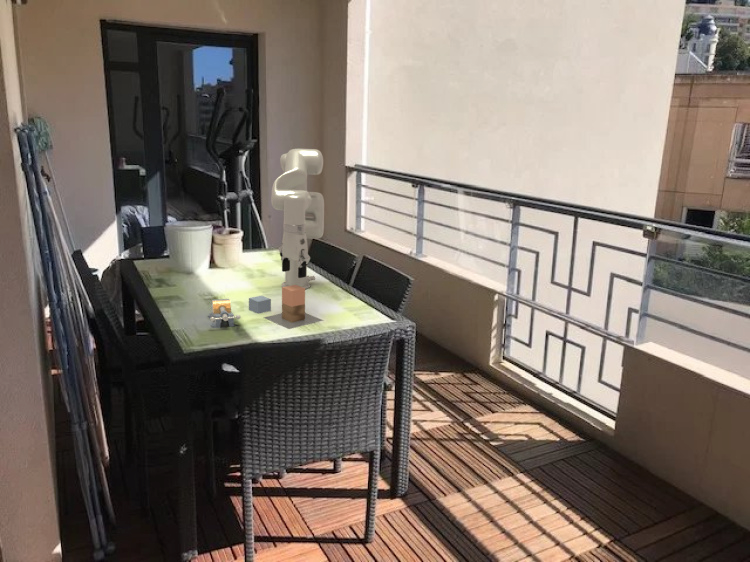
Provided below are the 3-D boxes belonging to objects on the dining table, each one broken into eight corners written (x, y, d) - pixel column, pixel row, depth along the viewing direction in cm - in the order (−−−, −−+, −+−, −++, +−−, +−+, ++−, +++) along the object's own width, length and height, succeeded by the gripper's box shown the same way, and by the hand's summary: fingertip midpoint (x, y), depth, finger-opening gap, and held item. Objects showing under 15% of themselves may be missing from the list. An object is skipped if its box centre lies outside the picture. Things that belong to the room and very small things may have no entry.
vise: (206, 315, 235) (206, 298, 233) (234, 313, 238) (234, 297, 236) (210, 331, 218) (210, 313, 217) (240, 329, 222) (240, 311, 220)
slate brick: (261, 310, 244) (261, 295, 242) (270, 313, 240) (270, 299, 238) (248, 312, 240) (248, 298, 238) (257, 316, 236) (257, 301, 234)
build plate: (297, 312, 242) (297, 309, 242) (323, 323, 231) (323, 320, 231) (263, 320, 231) (263, 317, 231) (288, 332, 221) (288, 329, 220)
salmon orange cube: (295, 300, 234) (295, 284, 232) (304, 304, 230) (305, 288, 228) (282, 302, 230) (282, 287, 228) (291, 306, 225) (291, 291, 224)
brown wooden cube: (294, 315, 235) (295, 300, 234) (304, 319, 231) (305, 304, 230) (282, 318, 231) (282, 302, 230) (291, 322, 227) (291, 306, 225)
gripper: (317, 231, 219) (316, 278, 224) (288, 222, 231) (288, 267, 236) (300, 234, 214) (300, 281, 219) (271, 225, 226) (271, 270, 231)
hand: (293, 274), depth 227 cm, fingers open, 9 cm apart
